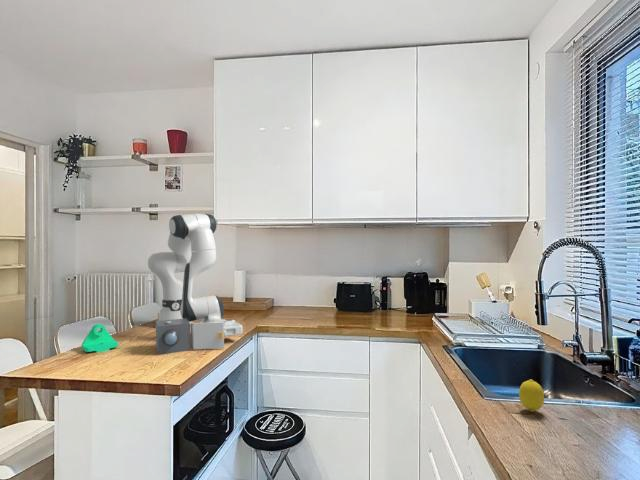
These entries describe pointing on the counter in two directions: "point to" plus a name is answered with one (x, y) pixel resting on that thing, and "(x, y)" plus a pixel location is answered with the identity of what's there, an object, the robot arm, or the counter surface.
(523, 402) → the lemon
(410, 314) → the counter surface
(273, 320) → the counter surface
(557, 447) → the counter surface
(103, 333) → the camera mount
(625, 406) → the counter surface
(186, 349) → the camera housing
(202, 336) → the side door
